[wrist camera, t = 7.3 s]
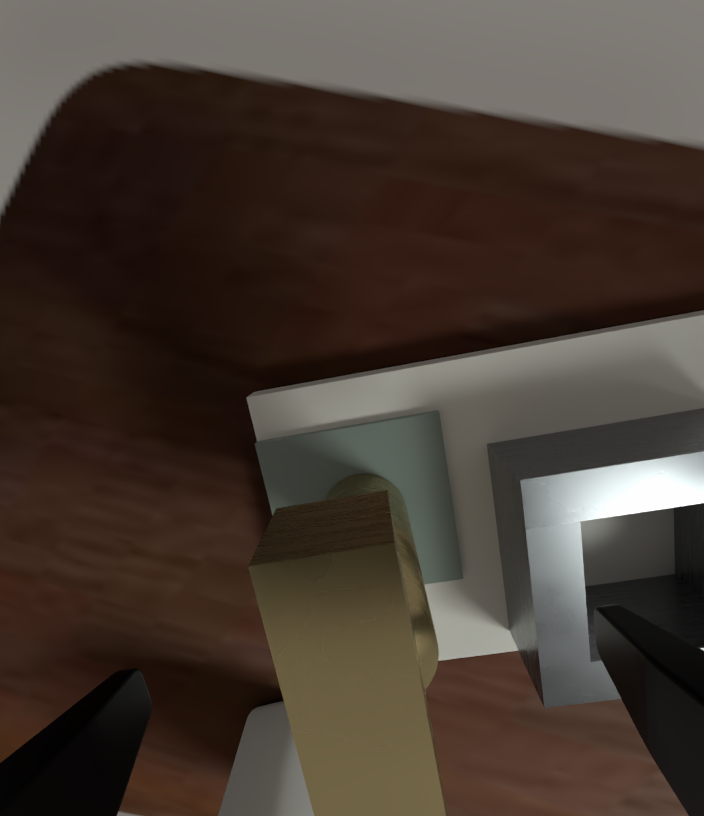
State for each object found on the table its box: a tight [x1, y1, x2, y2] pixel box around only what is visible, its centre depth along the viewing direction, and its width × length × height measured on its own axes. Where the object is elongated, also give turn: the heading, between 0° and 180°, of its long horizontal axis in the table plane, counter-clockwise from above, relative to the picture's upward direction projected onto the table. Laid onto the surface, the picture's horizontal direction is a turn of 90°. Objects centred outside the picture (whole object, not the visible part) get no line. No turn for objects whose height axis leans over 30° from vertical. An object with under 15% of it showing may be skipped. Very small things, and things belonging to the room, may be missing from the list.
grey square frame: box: [487, 408, 704, 708], centre depth 12 cm, size 7×7×3 cm
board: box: [246, 310, 704, 661], centre depth 14 cm, size 16×11×1 cm
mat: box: [255, 410, 464, 584], centre depth 14 cm, size 6×6×1 cm
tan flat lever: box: [248, 473, 448, 816], centre depth 10 cm, size 6×3×8 cm, turn 11°
